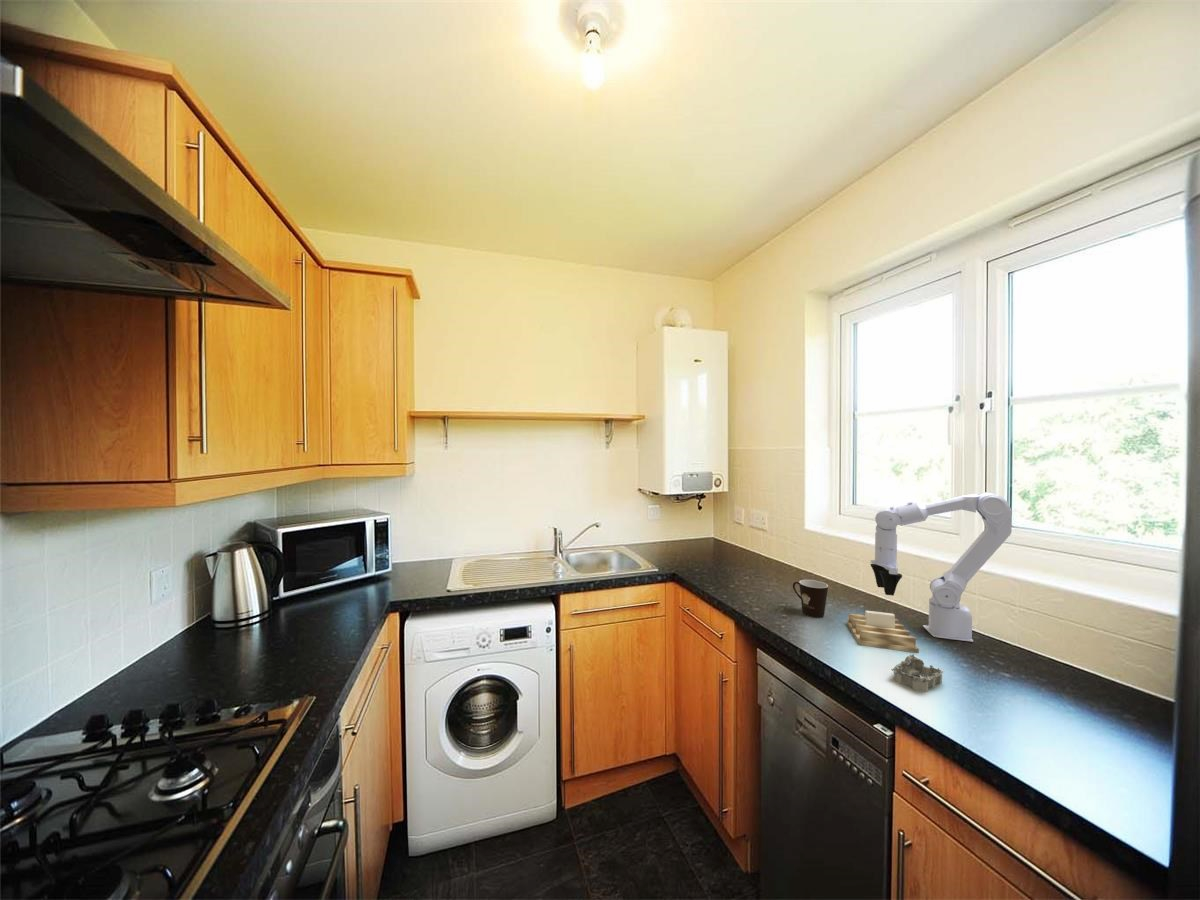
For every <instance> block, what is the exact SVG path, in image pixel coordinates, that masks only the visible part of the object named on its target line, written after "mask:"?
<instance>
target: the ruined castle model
mask: <svg viewBox="0 0 1200 900" xmlns="http://www.w3.org/2000/svg"><path fill="white" fill-rule="evenodd" d="M890 670H891V671H893V673H894V674H893V679H895V682H897V683H898V684H906V685H909V686H910V687H912V689H913V690H915V691H917V692H919V691H921V692H925V693H927V692H929V688H932V689H934V688H936V684H938V685H941V684H942V683H943V674H944V672H945V670H942V669H940V668H939V667H937V668H935V667H934V666H933V665H932V664H931V665H929V666H926V665H925V663H924V661H923V660H922V659H920V658H918V657H916V656H915V654H914V653H913V654H910V655H908V656H906V657H905V659H904V660H902V661H900V662H899V663H898V664H896V665H895V666H894V667H893V668H891V669H890ZM922 675H923V676H922Z"/></svg>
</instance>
